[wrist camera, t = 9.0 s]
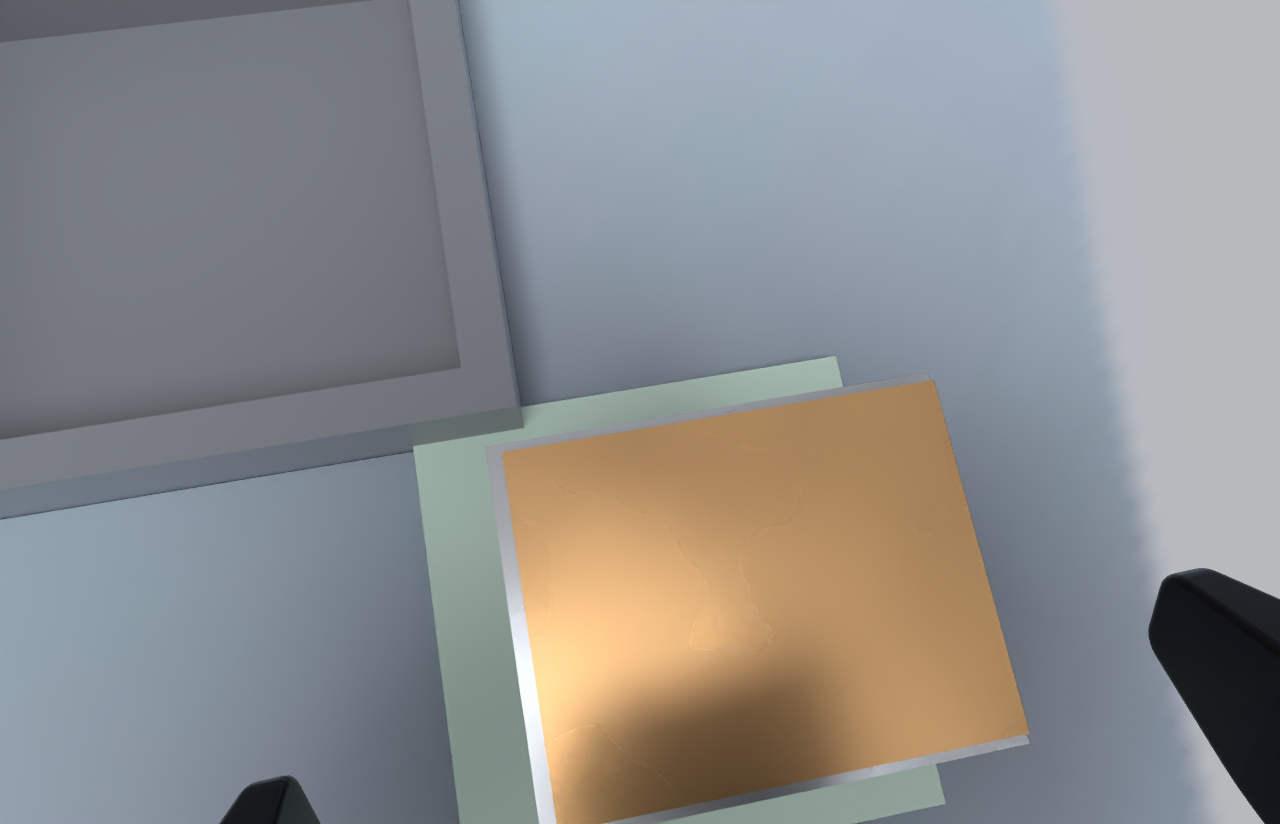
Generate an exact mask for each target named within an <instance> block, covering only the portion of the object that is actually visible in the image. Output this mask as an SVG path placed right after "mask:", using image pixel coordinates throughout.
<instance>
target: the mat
mask: <svg viewBox="0 0 1280 824" xmlns="http://www.w3.org/2000/svg"><path fill="white" fill-rule="evenodd" d="M839 387H843V384H842V379H841V375H840V371H839V367H838V363H837V359H836V356H833V357H826V358H820V359H814V360H808V361H802V362H796V363H789V364H783V365H777V366H771V367H765V368H759V369H752V370H746V371H740V372H734V373H728V374H722V375H715V376H709V377H703V378H697V379H691V380H684V381H678V382H672V383H666V384H660V385H654V386H647V387H641V388H635V389H629V390H623V391H617V392H610V393H604V394H598V395H592V396H586V397H580V398H573V399H567V400H561V401H555V402H549V403H543V404H536V405H530V406H524V407H521V413H522V419H523V426H524V428H521V429H515V430H509V431H503V432H497V433H491V434H485V435H479V436H473V437H467V438H461V439H455V440H448V441H442V442H436V443H430V444H424V445H418V446H413V451H414V459H415V467H416V475H417V483H418V491H419V499H420V507H421V515H422V523H423V531H424V539H425V547H426V555H427V563H428V572H429V580H430V588H431V596H432V604H433V612H434V620H435V628H436V636H437V644H438V652H439V660H440V668H441V676H442V684H443V692H444V700H445V709H446V717H447V725H448V733H449V741H450V749H451V757H452V765H453V773H454V781H455V789H456V797H457V805H458V813H459V821H460V824H539V819H538V812H537V805H536V798H535V791H534V784H533V777H532V770H531V763H530V756H529V749H528V742H527V735H526V729H525V722H524V715H523V708H522V701H521V694H520V687H519V680H518V673H517V666H516V659H515V652H514V645H513V638H512V631H511V624H510V617H509V610H508V603H507V596H506V589H505V582H504V576H503V569H502V562H501V555H500V548H499V541H498V534H497V527H496V520H495V513H494V506H493V499H492V492H491V485H490V478H489V471H488V464H487V457H486V450H485V446H489V445H495V444H501V443H507V442H513V441H519V440H525V439H531V438H537V437H543V436H549V435H555V434H561V433H567V432H573V431H579V430H585V429H591V428H597V427H604V426H610V425H616V424H622V423H628V422H634V421H640V420H646V419H652V418H658V417H664V416H670V415H676V414H682V413H688V412H694V411H700V410H706V409H712V408H718V407H724V406H730V405H736V404H742V403H748V402H754V401H760V400H766V399H772V398H778V397H784V396H791V395H797V394H803V393H809V392H815V391H821V390H827V389H833V388H839ZM943 804H946V802H945V798H944V794H943V790H942V786H941V782H940V778H939V774H938V770H937V766H936V764H933V765H928V766H923V767H918V768H914V769H909V770H904V771H900V772H895V773H890V774H886V775H881V776H876V777H871V778H867V779H862V780H857V781H853V782H848V783H843V784H839V785H834V786H829V787H824V788H820V789H815V790H810V791H806V792H801V793H796V794H792V795H787V796H782V797H777V798H773V799H768V800H763V801H759V802H754V803H749V804H745V805H740V806H735V807H730V808H726V809H721V810H716V811H712V812H707V813H702V814H697V815H693V816H688V817H683V818H679V819H674V820H669V821H665V822H660V823H655V824H855V823H860V822H865V821H869V820H874V819H878V818H883V817H888V816H892V815H897V814H901V813H906V812H910V811H915V810H920V809H924V808H929V807H933V806H938V805H943Z"/></svg>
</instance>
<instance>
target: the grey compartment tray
mask: <svg viewBox="0 0 1280 824" xmlns="http://www.w3.org/2000/svg"><path fill="white" fill-rule="evenodd" d="M521 428H524V426H523V419H522V413H521V401H520V394H519V388H518V381H517V375H516V368H515V362H514V356H513V349H512V343H511V336H510V330H509V323H508V317H507V311H506V304H505V298H504V291H503V285H502V278H501V272H500V266H499V259H498V253H497V246H496V240H495V233H494V227H493V221H492V214H491V208H490V201H489V195H488V188H487V182H486V176H485V169H484V163H483V156H482V150H481V143H480V137H479V131H478V124H477V118H476V111H475V105H474V98H473V92H472V86H471V79H470V73H469V66H468V60H467V53H466V47H465V40H464V34H463V28H462V21H461V15H460V8H459V2H458V0H0V519H6V518H13V517H19V516H25V515H31V514H37V513H43V512H49V511H55V510H61V509H67V508H73V507H79V506H85V505H91V504H97V503H103V502H110V501H116V500H122V499H128V498H134V497H140V496H146V495H152V494H158V493H164V492H170V491H176V490H182V489H188V488H194V487H200V486H206V485H213V484H219V483H225V482H231V481H237V480H243V479H249V478H255V477H261V476H267V475H273V474H279V473H285V472H291V471H297V470H303V469H309V468H316V467H322V466H328V465H334V464H340V463H346V462H352V461H358V460H364V459H370V458H376V457H382V456H388V455H394V454H400V453H406V452H412V451H413V446H418V445H424V444H430V443H436V442H442V441H448V440H455V439H461V438H467V437H473V436H479V435H485V434H491V433H497V432H503V431H509V430H515V429H521Z"/></svg>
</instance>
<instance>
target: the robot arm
mask: <svg viewBox="0 0 1280 824" xmlns="http://www.w3.org/2000/svg"><path fill="white" fill-rule="evenodd" d="M1148 634H1149V640H1150V644H1151V647H1152V649H1153V651H1154V653H1155V655H1156V657H1157V658H1158V660H1159V662H1160V663H1161V665H1162V667H1163V668H1164V670H1165V671H1166V673H1167V675H1168V676H1169V678H1170V680H1171V681H1172V683H1173V684H1174V686H1175V688H1176V689H1177V691H1178V693H1179V694H1180V696H1181V697H1182V699H1183V701H1184V702H1185V704H1186V706H1187V707H1188V709H1189V710H1190V712H1191V714H1192V715H1193V717H1194V719H1195V720H1196V722H1197V723H1198V725H1199V727H1200V728H1201V730H1202V732H1203V733H1204V735H1205V736H1206V738H1207V740H1208V741H1209V743H1210V745H1211V746H1212V748H1213V749H1214V751H1215V753H1216V754H1217V756H1218V758H1219V759H1220V761H1221V762H1222V764H1223V765H1224V767H1225V768H1226V770H1227V772H1228V773H1229V775H1230V776H1231V778H1232V779H1233V781H1234V782H1235V784H1236V785H1237V787H1238V788H1239V789H1240V791H1241V792H1242V794H1243V795H1244V796H1245V797H1246V799H1247V801H1248V802H1249V803H1250V805H1251V806H1252V807H1253V809H1254V810H1255V811H1256V813H1257V814H1258V815H1259V817H1260V818H1261V820H1262V821H1263V822H1264V823H1265V824H1280V599H1278V598H1276V597H1273V596H1271V595H1269V594H1267V593H1264V592H1262V591H1260V590H1257V589H1255V588H1253V587H1251V586H1248V585H1246V584H1244V583H1242V582H1239V581H1237V580H1235V579H1232V578H1230V577H1228V576H1226V575H1223V574H1221V573H1219V572H1216V571H1214V570H1211V569H1206V568H1198V569H1193V570H1188V571H1183V572H1179V573H1175V574H1171V575H1169V576H1167V577H1166V578H1165V579H1164V580H1163V581H1162V583H1161V586H1160V589H1159V593H1158V596H1157V600H1156V603H1155V607H1154V610H1153V614H1152V617H1151V621H1150V624H1149V629H1148ZM219 824H320V822H319V820H318V818H317V816H316V814H315V812H314V810H313V809H312V807H311V805H310V803H309V801H308V799H307V797H306V795H305V794H304V792H303V790H302V788H301V786H300V784H299V783H298V781H297V780H296V779H295V778H294V777H292V776H290V775H285V776H280V777H276V778H271V779H267V780H263V781H258V782H255V783H252V784H250V785H249V786H247V787H246V788H245V789H244V790H243V791H242V792H241V793H240V795H239V796H238V798H237V799H236V800H235V802H234V803H233V805H232V806H231V808H230V809H229V811H228V812H227V813H226V815H225V816H224V818H223V819H222V821H221V822H220V823H219Z"/></svg>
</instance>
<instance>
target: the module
mask: <svg viewBox="0 0 1280 824" xmlns="http://www.w3.org/2000/svg"><path fill="white" fill-rule="evenodd" d="M485 450H486V457H487V464H488V471H489V478H490V485H491V492H492V499H493V506H494V513H495V520H496V527H497V534H498V541H499V548H500V555H501V562H502V569H503V576H504V582H505V589H506V596H507V603H508V610H509V617H510V624H511V631H512V638H513V645H514V652H515V659H516V666H517V673H518V680H519V687H520V694H521V701H522V708H523V715H524V722H525V729H526V735H527V742H528V749H529V756H530V763H531V770H532V777H533V784H534V791H535V798H536V805H537V812H538V819H539V824H655V823H660V822H665V821H669V820H674V819H679V818H683V817H688V816H693V815H697V814H702V813H707V812H712V811H716V810H721V809H726V808H730V807H735V806H740V805H745V804H749V803H754V802H759V801H763V800H768V799H773V798H777V797H782V796H787V795H792V794H796V793H801V792H806V791H810V790H815V789H820V788H824V787H829V786H834V785H839V784H843V783H848V782H853V781H857V780H862V779H867V778H871V777H876V776H881V775H886V774H890V773H895V772H900V771H904V770H909V769H914V768H918V767H923V766H928V765H933V764H937V763H942V762H947V761H951V760H956V759H961V758H965V757H970V756H975V755H980V754H984V753H989V752H994V751H998V750H1003V749H1008V748H1012V747H1017V746H1022V745H1027V744H1029V741H1028V737H1027V734H1030V732H1029V728H1028V725H1027V721H1026V717H1025V714H1024V710H1023V706H1022V702H1021V699H1020V695H1019V691H1018V688H1017V684H1016V680H1015V677H1014V673H1013V669H1012V666H1011V662H1010V658H1009V655H1008V651H1007V647H1006V644H1005V640H1004V636H1003V633H1002V629H1001V625H1000V622H999V618H998V614H997V611H996V607H995V603H994V599H993V596H992V592H991V588H990V585H989V581H988V577H987V574H986V570H985V566H984V563H983V559H982V555H981V552H980V548H979V544H978V541H977V537H976V533H975V530H974V526H973V522H972V519H971V515H970V511H969V507H968V504H967V500H966V496H965V493H964V489H963V485H962V482H961V478H960V474H959V471H958V467H957V463H956V460H955V456H954V452H953V449H952V445H951V441H950V438H949V434H948V430H947V427H946V423H945V419H944V416H943V412H942V408H941V404H940V401H939V397H938V393H937V390H936V386H935V382H934V380H931V379H930V375H929V373H923V374H917V375H911V376H905V377H899V378H893V379H887V380H881V381H875V382H869V383H863V384H857V385H851V386H845V387H839V388H833V389H827V390H821V391H815V392H809V393H803V394H797V395H791V396H784V397H778V398H772V399H766V400H760V401H754V402H748V403H742V404H736V405H730V406H724V407H718V408H712V409H706V410H700V411H694V412H688V413H682V414H676V415H670V416H664V417H658V418H652V419H646V420H640V421H634V422H628V423H622V424H616V425H610V426H604V427H597V428H591V429H585V430H579V431H573V432H567V433H561V434H555V435H549V436H543V437H537V438H531V439H525V440H519V441H513V442H507V443H501V444H495V445H489V446H485Z"/></svg>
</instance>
